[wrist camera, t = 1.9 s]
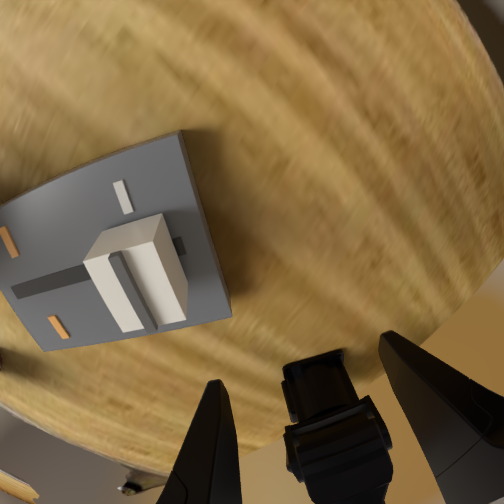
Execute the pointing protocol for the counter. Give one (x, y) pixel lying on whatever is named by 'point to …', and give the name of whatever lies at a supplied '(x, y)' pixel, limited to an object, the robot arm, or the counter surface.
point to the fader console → (86, 233)
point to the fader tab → (139, 274)
